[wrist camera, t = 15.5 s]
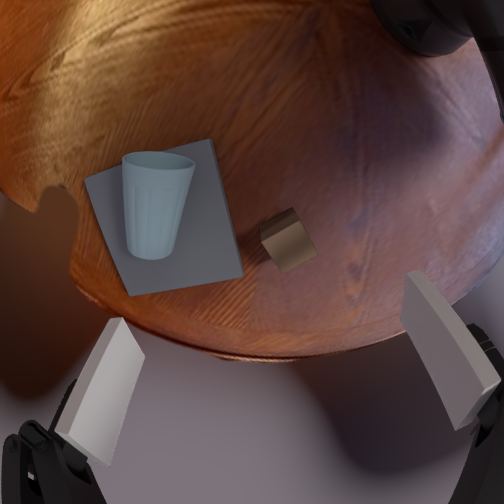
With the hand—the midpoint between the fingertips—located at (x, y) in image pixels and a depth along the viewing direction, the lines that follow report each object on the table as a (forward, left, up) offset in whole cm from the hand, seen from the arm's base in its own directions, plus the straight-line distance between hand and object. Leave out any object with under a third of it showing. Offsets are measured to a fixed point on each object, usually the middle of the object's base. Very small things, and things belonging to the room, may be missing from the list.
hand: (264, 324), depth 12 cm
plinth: (+2, -12, -25) cm, 28 cm away
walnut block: (+7, +3, -26) cm, 27 cm away
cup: (+1, -12, -24) cm, 27 cm away
